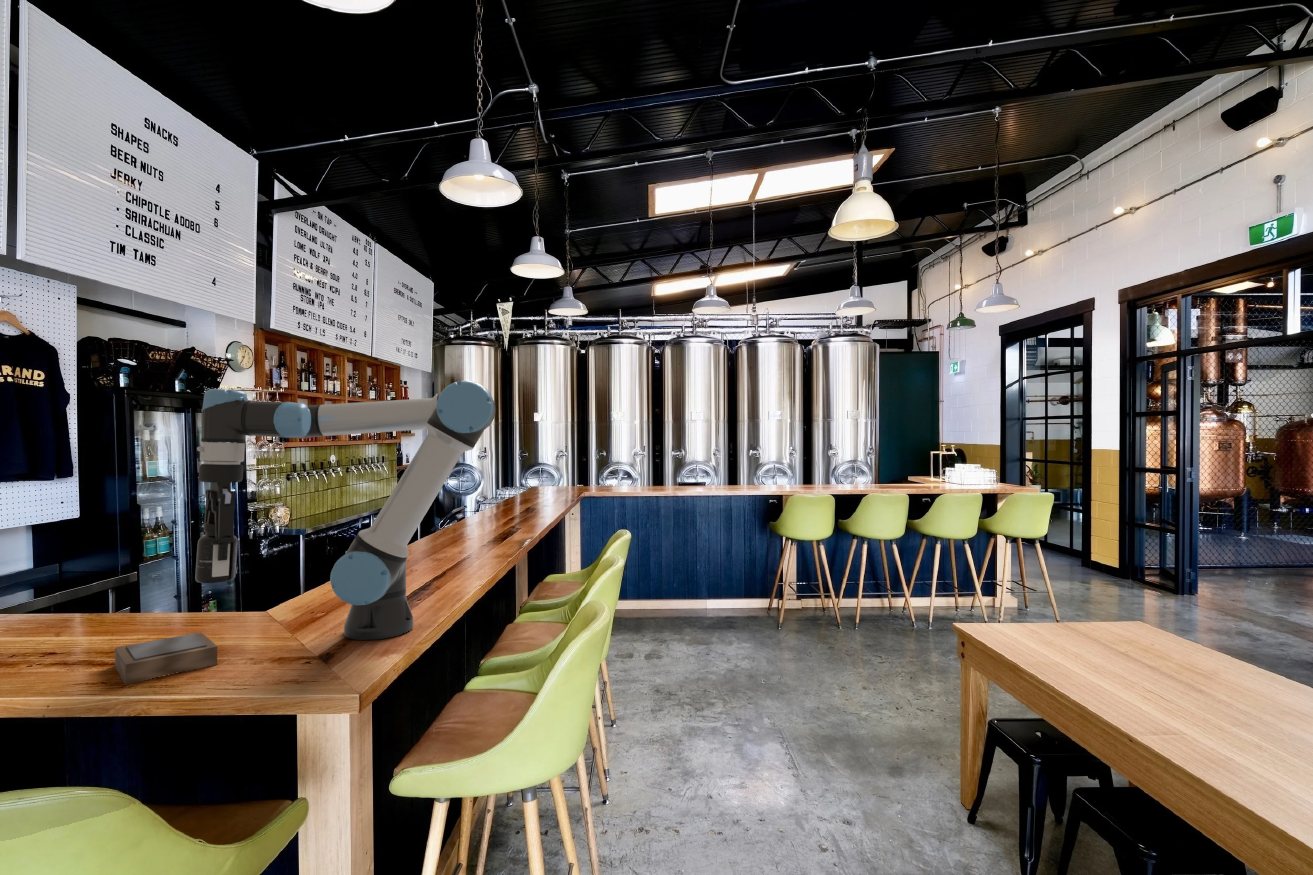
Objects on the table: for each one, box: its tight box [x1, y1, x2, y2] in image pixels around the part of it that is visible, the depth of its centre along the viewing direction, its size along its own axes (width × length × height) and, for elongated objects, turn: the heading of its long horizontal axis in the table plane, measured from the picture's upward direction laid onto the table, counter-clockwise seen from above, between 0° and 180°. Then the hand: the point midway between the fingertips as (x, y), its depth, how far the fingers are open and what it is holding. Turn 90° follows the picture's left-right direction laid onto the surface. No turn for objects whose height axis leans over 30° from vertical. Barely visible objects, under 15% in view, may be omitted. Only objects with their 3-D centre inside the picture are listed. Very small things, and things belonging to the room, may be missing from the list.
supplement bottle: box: [194, 522, 239, 584], centre depth 125 cm, size 7×7×12 cm
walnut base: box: [114, 631, 218, 686], centre depth 121 cm, size 14×14×4 cm
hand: (215, 572), depth 125 cm, fingers closed on supplement bottle, 7 cm apart
